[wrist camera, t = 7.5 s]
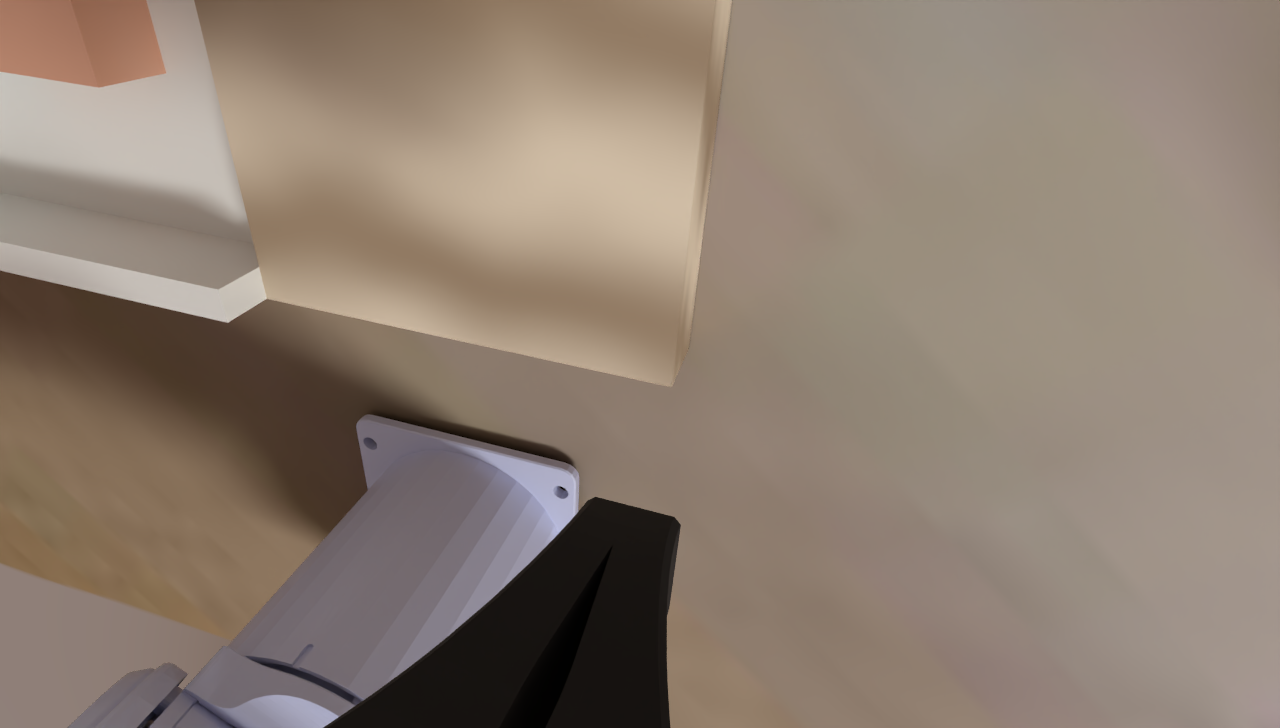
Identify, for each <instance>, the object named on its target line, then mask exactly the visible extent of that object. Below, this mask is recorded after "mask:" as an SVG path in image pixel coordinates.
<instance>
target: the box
mask: <svg viewBox="0 0 1280 728" xmlns="http://www.w3.org/2000/svg"><path fill="white" fill-rule="evenodd" d="M146 1H147V5H148V8H149V12H150V15H151V19H152V23H153V26H154V30H155V34H156V37H157V41H158V45H159V48H160V52H161V55H162V59H163V63H164V66H165V70H166V73H165V74H161V75H156V76H151V77H146V78H142V79H137V80H132V81H128V82H123V83H118V84H114V85H109V86H104V87H100V88H98V87H92V86H86V85H79V84H73V83H67V82H61V81H55V80H49V79H43V78H36V77H30V76H24V75H18V74H12V73H6V72H0V271H4V272H9V273H13V274H17V275H22V276H26V277H30V278H35V279H39V280H43V281H48V282H52V283H56V284H61V285H65V286H70V287H74V288H78V289H83V290H87V291H91V292H96V293H100V294H104V295H109V296H113V297H118V298H122V299H126V300H131V301H135V302H139V303H144V304H148V305H152V306H157V307H161V308H165V309H170V310H174V311H179V312H183V313H187V314H192V315H196V316H200V317H205V318H209V319H213V320H218V321H222V322H226V323H228V322H230V321H232V320H233V319H235V318H236V317H238V316H240V315H241V314H243V313H244V312H246V311H248V310H249V309H251V308H253V307H254V306H256V305H257V304H259V303H261V302H262V301H264V300H266V299H267V297H266V293H265V289H264V285H263V281H262V277H261V273H260V269H259V265H258V260H257V256H256V252H255V248H254V244H253V240H252V236H251V232H250V228H249V223H248V219H247V215H246V211H245V207H244V203H243V199H242V195H241V191H240V187H239V182H238V178H237V174H236V170H235V166H234V162H233V158H232V154H231V150H230V145H229V141H228V137H227V133H226V129H225V125H224V121H223V117H222V113H221V109H220V104H219V100H218V96H217V92H216V88H215V84H214V80H213V76H212V72H211V67H210V63H209V59H208V55H207V51H206V47H205V43H204V39H203V35H202V31H201V26H200V22H199V18H198V14H197V10H196V6H195V2H194V0H146Z"/></svg>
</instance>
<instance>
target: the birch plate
mask: <svg viewBox="0 0 1280 728" xmlns="http://www.w3.org/2000/svg"><path fill="white" fill-rule="evenodd" d="M194 2H195V6H196V10H197V14H198V18H199V22H200V26H201V31H202V35H203V39H204V43H205V47H206V51H207V55H208V59H209V63H210V67H211V72H212V76H213V80H214V84H215V88H216V92H217V96H218V100H219V104H220V109H221V113H222V117H223V121H224V125H225V129H226V133H227V137H228V141H229V145H230V150H231V154H232V158H233V162H234V166H235V170H236V174H237V178H238V182H239V187H240V191H241V195H242V199H243V203H244V207H245V211H246V215H247V219H248V223H249V228H250V232H251V236H252V240H253V244H254V248H255V252H256V256H257V260H258V265H259V269H260V273H261V277H262V281H263V285H264V289H265V293H266V297H267V299H270V300H275V301H280V302H284V303H289V304H293V305H298V306H302V307H307V308H312V309H316V310H321V311H325V312H330V313H334V314H339V315H344V316H348V317H353V318H357V319H362V320H366V321H371V322H376V323H380V324H385V325H389V326H394V327H398V328H403V329H407V330H412V331H417V332H421V333H426V334H430V335H435V336H439V337H444V338H449V339H453V340H458V341H462V342H467V343H471V344H476V345H481V346H485V347H490V348H494V349H499V350H503V351H508V352H513V353H517V354H522V355H526V356H531V357H535V358H540V359H545V360H549V361H554V362H558V363H563V364H567V365H572V366H577V367H581V368H586V369H590V370H595V371H599V372H604V373H609V374H613V375H618V376H622V377H627V378H631V379H636V380H641V381H645V382H650V383H654V384H659V385H663V386H668V387H672V385H673V383H674V381H675V378H676V376H677V374H678V372H679V369H680V367H681V365H682V363H683V360H684V358H685V356H686V354H687V352H688V349H689V343H690V335H691V327H692V319H693V311H694V303H695V295H696V287H697V279H698V271H699V263H700V255H701V247H702V238H703V230H704V222H705V214H706V206H707V198H708V190H709V182H710V174H711V166H712V158H713V150H714V142H715V134H716V126H717V118H718V110H719V102H720V94H721V86H722V78H723V70H724V62H725V54H726V46H727V38H728V30H729V22H730V14H731V6H732V0H194Z"/></svg>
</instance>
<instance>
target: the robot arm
mask: <svg viewBox="0 0 1280 728" xmlns="http://www.w3.org/2000/svg"><path fill="white" fill-rule="evenodd" d="M356 430H357V435H358V440H359V446H360V451H361V456H362V462H363V467H364V472H365V478H366V483H367V488H368V491H367V492H366V493H365V494H364V495H363V496H362V497H361V498H360V499H359V501H358V502H357V503H356V504H355V505H354V506H353V507H352V508H351V509H350V511H349V512H348V513H347V514H346V515H345V516H344V517H343V518H342V520H341V521H340V522H339V523H338V524H337V525H336V526H335V527H334V528H333V530H332V531H331V532H330V533H329V534H328V535H327V536H326V537H325V538H324V540H323V541H322V542H321V543H320V544H319V545H318V546H317V547H316V548H315V550H314V551H313V552H312V553H311V554H310V555H309V556H308V557H307V558H306V560H305V561H304V562H303V563H302V564H301V565H300V566H299V567H298V568H297V570H296V571H295V572H294V573H293V574H292V575H291V576H290V577H289V578H288V580H287V581H286V582H285V583H284V584H283V585H282V586H281V587H280V588H279V590H278V591H277V592H276V593H275V594H274V595H273V596H272V597H271V598H270V600H269V601H268V602H267V603H266V604H265V605H264V606H263V607H262V608H261V610H260V611H259V612H258V613H257V614H256V615H255V616H254V617H253V618H252V620H251V621H250V622H249V623H248V624H247V625H246V626H245V627H244V628H243V630H242V631H241V632H240V633H239V634H238V635H237V636H236V637H235V638H234V640H233V641H232V642H231V643H230V644H229V645H228V646H223V647H222V648H221V649H220V650H219V651H218V652H217V653H216V654H215V655H214V656H213V658H212V659H211V660H210V661H209V662H208V663H207V664H206V665H205V666H204V667H203V668H202V670H201V671H200V672H199V673H198V674H197V675H196V676H195V677H194V678H193V680H192V681H191V682H190V683H189V684H188V685H187V686H186V687H185V689H184V690H182V689H181V688H179V687H178V686H179V684H180V683H181V682H182V681H183V680H184V678H185V677H186V676H187V673H186V672H184V671H183V670H182V669H180V668H179V667H177V666H176V665H174V664H172V663H164V664H162V665H161V666H159V667H158V668H157V669H153V668H149V669H144V670H139V671H133V672H130V673H128V674H126V675H125V676H124V677H122V678H121V679H120V680H119V681H117V682H116V683H115V684H114V685H113V686H112V687H110V688H109V689H108V690H107V691H106V692H105V693H104V694H103V695H101V696H100V697H99V698H98V699H97V700H96V701H95V702H94V703H93V704H92V705H91V706H90V707H89V708H87V709H86V710H85V711H84V712H83V713H82V714H81V715H80V716H79V717H78V718H77V719H76V720H75V721H74V722H73V723H72V724H71V725H70V726H69V727H68V728H670V718H669V701H668V685H667V614H668V610H669V605H670V598H671V591H672V584H673V577H674V570H675V562H676V555H677V548H678V541H679V534H680V526H681V525H680V523H679V522H678V521H677V520H676V519H675V517H672V516H668V515H664V514H660V513H656V512H653V511H649V510H645V509H641V508H637V507H633V506H629V505H625V504H621V503H617V502H613V501H609V500H606V499H602V498H598V497H594V498H592V499H590V500H588V501H587V502H586V504H585V505H584V506H583V507H582V508H581V509H580V510H579V512H578V502H579V474H578V472H577V470H576V469H575V468H574V467H573V466H571V465H570V464H567V463H565V462H561V461H557V460H553V459H549V458H545V457H541V456H537V455H533V454H529V453H525V452H521V451H517V450H513V449H509V448H505V447H501V446H496V445H492V444H488V443H484V442H480V441H476V440H472V439H468V438H464V437H460V436H456V435H452V434H448V433H444V432H440V431H436V430H432V429H428V428H424V427H420V426H416V425H412V424H408V423H404V422H400V421H396V420H391V419H387V418H383V417H379V416H375V415H369V414H367V415H365V416H363V417H362V418H361V419H360V420H359V421H358V422H357V424H356ZM559 486H561V487H563V488H565V489H566V490H567V491H565V490H563V489H561V488H560V487H559Z"/></svg>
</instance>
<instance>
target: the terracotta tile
mask: <svg viewBox="0 0 1280 728" xmlns="http://www.w3.org/2000/svg"><path fill="white" fill-rule="evenodd" d="M0 72H6V73H12V74H18V75H24V76H30V77H36V78H43V79H49V80H55V81H61V82H67V83H73V84H79V85H86V86H92V87H98V88H100V87H104V86H109V85H114V84H118V83H123V82H128V81H132V80H137V79H142V78H146V77H151V76H156V75H161V74H165V73H166V70H165V66H164V63H163V59H162V55H161V52H160V48H159V45H158V41H157V37H156V34H155V30H154V26H153V23H152V19H151V15H150V12H149V8H148V5H147V1H146V0H0Z"/></svg>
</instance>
